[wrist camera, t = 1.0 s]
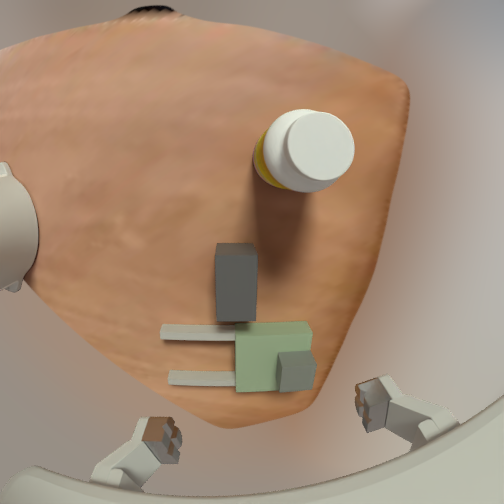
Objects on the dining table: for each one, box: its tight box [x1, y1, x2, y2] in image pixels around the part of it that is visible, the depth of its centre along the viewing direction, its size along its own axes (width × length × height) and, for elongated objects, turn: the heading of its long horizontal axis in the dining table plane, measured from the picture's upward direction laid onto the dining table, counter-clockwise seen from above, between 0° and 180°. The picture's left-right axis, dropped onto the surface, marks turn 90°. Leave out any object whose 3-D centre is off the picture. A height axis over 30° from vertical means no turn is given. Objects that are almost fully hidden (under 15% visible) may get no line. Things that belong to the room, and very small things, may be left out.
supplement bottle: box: [253, 109, 354, 192], centre depth 23 cm, size 7×7×13 cm
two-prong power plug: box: [160, 321, 317, 392], centre depth 32 cm, size 18×9×6 cm, turn 89°
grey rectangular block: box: [215, 243, 258, 321], centre depth 29 cm, size 7×4×5 cm, turn 179°
